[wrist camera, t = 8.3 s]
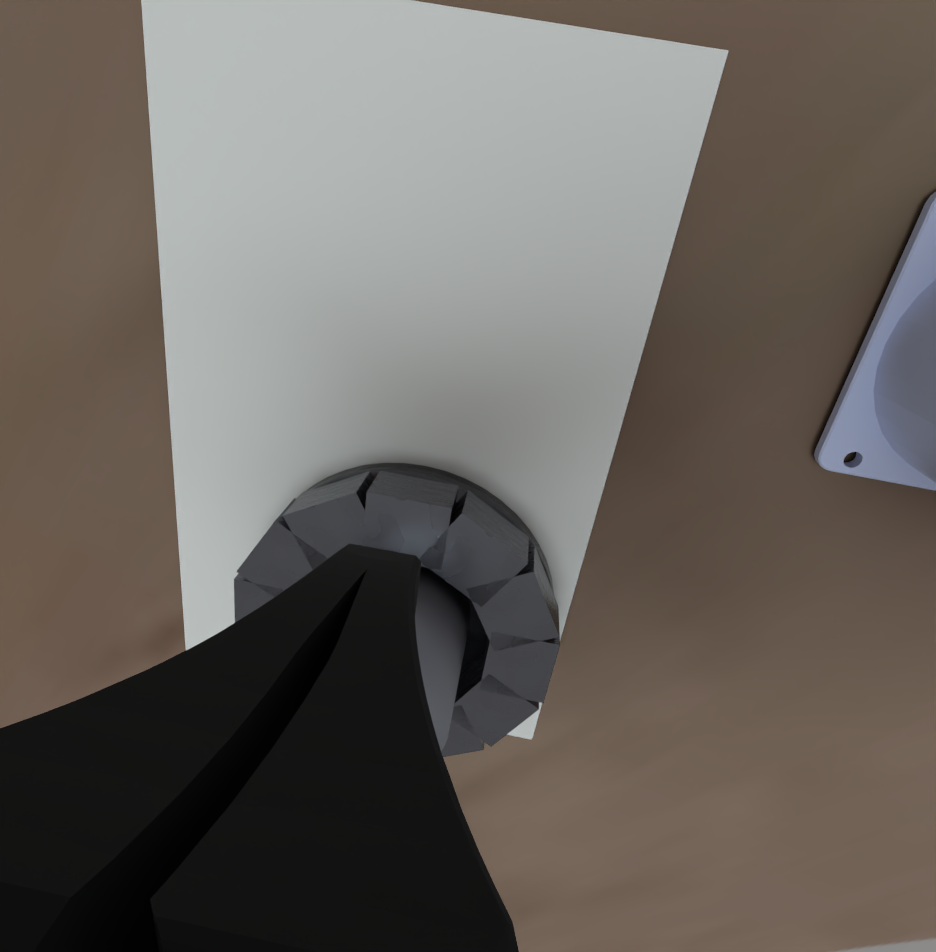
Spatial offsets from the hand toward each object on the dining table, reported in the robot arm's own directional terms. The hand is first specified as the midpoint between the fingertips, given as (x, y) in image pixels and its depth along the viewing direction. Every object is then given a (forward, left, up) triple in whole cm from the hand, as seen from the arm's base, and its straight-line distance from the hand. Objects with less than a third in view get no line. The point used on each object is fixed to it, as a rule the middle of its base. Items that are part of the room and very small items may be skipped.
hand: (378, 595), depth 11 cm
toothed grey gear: (+1, +7, -9) cm, 12 cm away
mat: (+2, +1, -10) cm, 10 cm away
